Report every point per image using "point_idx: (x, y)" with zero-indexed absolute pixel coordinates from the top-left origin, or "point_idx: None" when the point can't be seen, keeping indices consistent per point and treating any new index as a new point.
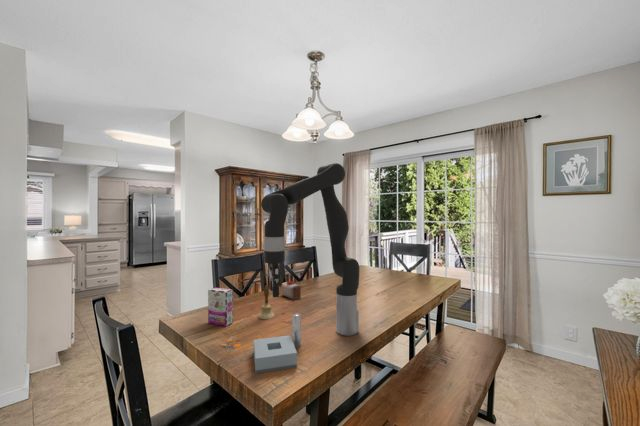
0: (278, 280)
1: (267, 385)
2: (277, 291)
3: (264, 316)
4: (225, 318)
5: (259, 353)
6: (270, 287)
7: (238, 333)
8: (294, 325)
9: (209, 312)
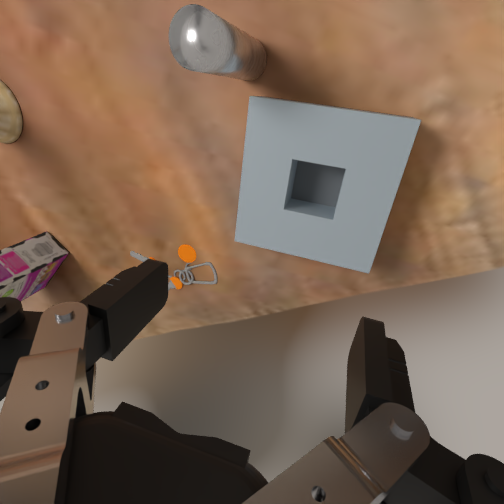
0: (389, 489)
1: (450, 241)
2: (406, 384)
3: (9, 124)
4: (47, 265)
5: (341, 253)
6: (152, 317)
7: (115, 232)
8: (231, 66)
9: None
